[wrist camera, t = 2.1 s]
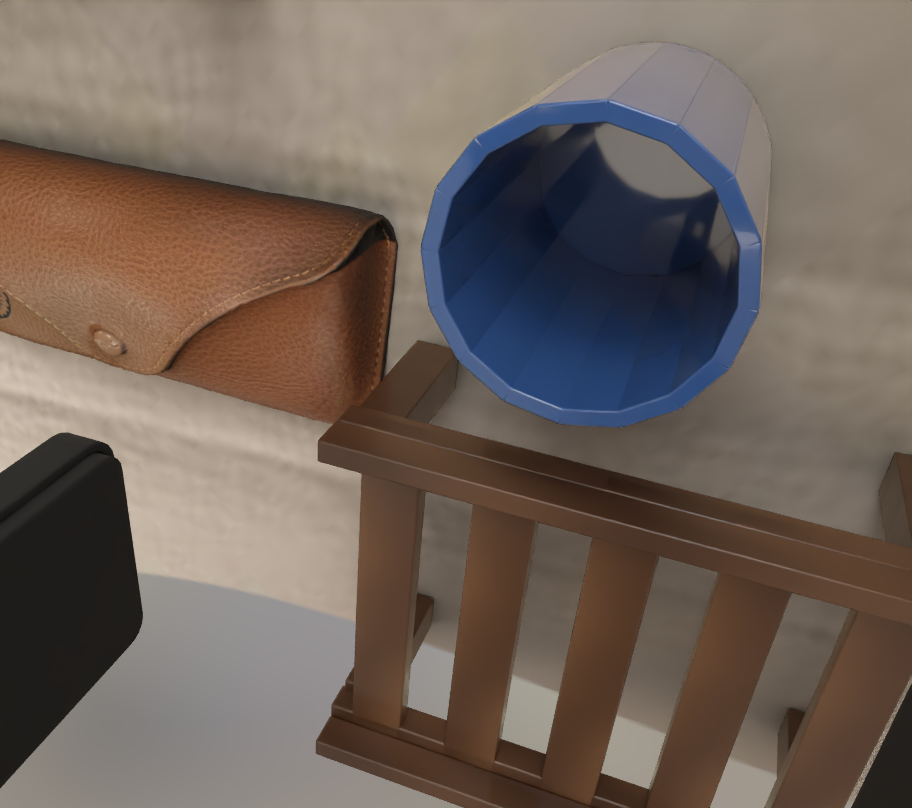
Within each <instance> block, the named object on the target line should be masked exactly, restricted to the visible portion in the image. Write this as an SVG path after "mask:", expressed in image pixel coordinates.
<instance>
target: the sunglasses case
mask: <svg viewBox="0 0 912 808" xmlns="http://www.w3.org/2000/svg"><path fill="white" fill-rule="evenodd" d="M397 248H398V245H397V241H396V237H395V233H394V229H393V227H392V225H391V224H390V222H389V221H388V220H387V219H386V218H385V217H384V216H383V215H380V214H376V213H373V212H371V211H367V210H362V209H358V208H354V207H350V206H344V205H339V204H333V203H328V202H323V201H318V200H313V199H307V198H301V197H294V196H288V195H283V194H275V193H268V192H263V191H258V190H254V189H250V188H245V187H240V186H234V185H229V184H224V183H219V182H214V181H209V180H204V179H199V178H193V177H187V176H181V175H176V174H171V173H166V172H160V171H154V170H149V169H145V168H140V167H135V166H130V165H123V164H117V163H112V162H107V161H102V160H98V159H93V158H88V157H84V156H79V155H74V154H69V153H64V152H58V151H53V150H47V149H42V148H37V147H33V146H28V145H24V144H19V143H14V142H9V141H5V140H0V331H3V332H5V333H8V334H10V335H14V336H17V337H20V338H23V339H26V340H29V341H33V342H35V343H39V344H42V345H47V346H51V347H53V348H58V349H61V350H64V351H67V352H73V353H76V354H80V355H83V356H86V357H90V358H94V359H96V360H98V361H101V362H104V363H106V364H109V365H112V366H115V367H119V368H122V369H124V370H128V371H132V372H135V373H139V374H144V375H158V376H161V377H165V378H168V379H172V380H176V381H179V382H183V383H186V384H190V385H194V386H197V387H201V388H204V389H206V390H209V391H214V392H218V393H221V394H224V395H228V396H231V397H235V398H238V399H242V400H244V401H249V402H252V403H256V404H259V405H263V406H267V407H271V408H273V409H278V410H282V411H286V412H289V413H292V414H295V415H299V416H303V417H307V418H309V419H312V420H319V421H322V422H326V423H329V424H334V423H335V422H336V421H338V419H339V418H340V416H341V415H342V414H343V413H344V412H345V411H346V410H347V409H348V408H349V407H350V405H357V406H360V405H361V403H362V402H363V401H364V400H365V399H366V398H367V397H368V396H369V394H370V393H371V392H372V391H373V390H374V389H375V388H376V387H377V385H378V384H379V383H380V382H381V381H382V380H383V374H384V367H385V360H386V350H387V340H388V333H389V324H390V315H391V306H392V299H393V291H394V277H395V269H396V258H397Z"/></svg>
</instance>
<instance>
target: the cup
mask: <svg viewBox="0 0 912 808" xmlns="http://www.w3.org/2000/svg"><path fill="white" fill-rule="evenodd" d="M771 150H772V144H771V139H770V137H769V133H768V129H767V126H766V122H765V119H764V116H763V114H762V111H761V109H760V107H759V105H758V103H757V101H756V99H755V98H754V96H753V95H752V93H751V92H750V90H749V89H748V87H747V86H746V85H745V84H744V83H743V82H742V80H741V79H740V78H739V77H738V76H737V75H736V74H735V73H734V72H733V71H731V70H730V69H729V68H728V67H727V66H725V65H724V64H723V63H721V62H720V61H718V60H716V59H715V58H713V57H711V56H710V55H708V54H706V53H703V52H701V51H699V50H696V49H694V48H691V47H687V46H683V45H679V44H674V43H666V42H641V43H635V44H629V45H625V46H621V47H615V48H612V49H610V50H608V51H607V52H605V53H603V54H601V55H598V56H596V57H594V58H593V59H591V60H590V61H588V62H586V63H584V64H583V65H581V66H579V67H577V68H575V69H573V70H572V71H570V72H569V73H567V74H566V75H564V76H563V77H561V78H560V79H558V80H557V81H555V82H554V83H553V84H551V85H550V86H548V87H547V88H545V89H544V90H542V91H541V92H539V93H538V94H537V95H535V96H534V97H532V98H531V99H529V100H528V101H526V102H525V103H523V104H522V105H521V106H519V107H518V108H516V109H515V110H513V111H512V112H510V113H509V114H507V115H506V116H505V117H503V118H502V119H500V120H499V121H497V122H496V123H494V124H493V125H491V126H490V127H489V128H487V129H486V130H484V131H483V132H481V133H480V134H478V135H477V136H476V137H475V138H474V139H473V140H472V141H471V142H470V144H469V145H468V146H467V148H466V149H465V150H464V151H463V153H462V154H461V155H460V157H459V158H458V159H457V160H456V162H455V163H454V164H453V166H452V167H451V168H450V170H449V171H448V172H447V173H446V175H445V176H444V177H443V179H442V180H441V181H440V182H439V184H438V185H437V188H436V189H435V192H434V196H433V200H432V204H431V208H430V211H429V215H428V219H427V223H426V227H425V231H424V235H423V239H422V243H421V256H422V263H423V270H424V277H425V284H426V291H427V298H428V305H429V308H430V311H431V313H432V315H433V317H434V318H435V320H436V322H437V324H438V326H439V328H440V329H441V331H442V333H443V335H444V337H445V338H446V340H447V342H448V344H449V346H450V347H451V349H452V351H453V353H454V355H455V356H456V358H457V360H459V362H460V363H461V364H462V365H463V366H464V367H465V368H466V369H468V370H469V371H470V372H471V373H472V374H473V375H474V376H475V377H477V378H478V379H479V380H480V381H481V382H482V383H483V384H484V385H486V386H487V387H488V388H489V389H490V390H491V391H492V392H494V393H495V394H496V395H497V396H498V397H499V398H500V399H501V400H504V401H505V402H507V403H509V404H511V405H514V406H516V407H519V408H521V409H524V410H526V411H528V412H531V413H533V414H536V415H538V416H541V417H543V418H545V419H548V420H550V421H553V422H555V423H557V424H559V423H560V424H562V425H580V426H599V427H617V428H619V427H625V426H628V425H631V424H635V423H638V422H641V421H644V420H647V419H651V418H654V417H657V416H660V415H663V414H667V413H670V412H673V411H676V410H679V409H680V408H683V407H684V406H685V405H686V404H688V403H689V402H690V401H691V400H693V399H694V398H695V397H696V396H697V395H699V394H700V393H701V392H702V391H704V390H705V389H706V388H707V387H708V386H710V385H711V384H712V383H713V382H715V381H716V380H717V379H718V378H719V377H721V376H722V375H723V374H724V373H726V372H727V371H728V370H729V368H730V367H731V366H732V364H733V362H734V360H735V358H736V356H737V354H738V352H739V350H740V348H741V346H742V345H743V343H744V341H745V339H746V337H747V335H748V333H749V331H750V329H751V327H752V325H753V323H754V321H755V319H756V317H757V315H758V313H759V309H760V301H761V290H762V278H763V266H764V254H765V242H766V230H767V218H768V206H769V194H770V174H771Z"/></svg>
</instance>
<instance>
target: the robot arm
mask: <svg viewBox="0 0 912 808" xmlns="http://www.w3.org/2000/svg"><path fill="white" fill-rule="evenodd" d="M142 620H143V611H142V605H141V597H140V590H139V584H138V576H137V569H136V562H135V555H134V548H133V541H132V534H131V527H130V520H129V513H128V506H127V499H126V492H125V485H124V478H123V471H122V466H121V463H120V462H119V460H118V459H117V458H114V455H113V451H112V449H111V448H110V447H109V445H108V444H105V443H103V442H100V441H96V440H93V439H89V438H85V437H82V436H78V435H74V434H71V433H59V434H57V435H55V436H53V437H51V438H50V439H48V440H47V441H45V442H44V443H42V444H41V445H40V446H38V447H37V448H35V449H34V450H32V451H31V452H30V453H28V454H27V455H25V456H24V457H22V458H21V459H20V460H18V461H17V462H15V463H14V464H12V465H11V466H10V467H8V468H7V469H5V470H4V471H2V472H1V473H0V788H1V787H2V786H3V785H4V784H5V783H6V781H7V780H8V779H9V778H10V777H11V776H12V775H13V774H14V773H15V771H16V770H17V769H18V768H19V767H20V766H21V765H22V764H23V763H24V761H25V760H26V759H27V758H28V757H29V756H30V755H31V754H32V753H33V751H35V749H36V748H37V747H38V746H39V745H40V744H41V743H42V742H43V741H44V740H45V738H46V737H47V736H48V735H49V734H50V733H51V732H52V731H53V730H54V729H55V727H56V726H57V725H58V724H59V723H60V722H61V721H62V720H63V719H64V718H65V716H66V715H67V714H68V713H69V712H70V711H71V710H72V709H73V708H74V707H75V705H76V704H77V703H78V702H79V701H80V700H81V699H82V698H83V697H84V696H85V694H86V693H87V692H88V691H89V690H90V689H91V688H92V687H93V686H94V684H95V683H96V682H97V681H98V680H99V679H100V678H101V677H102V676H103V675H104V674H105V672H106V671H107V670H108V669H109V668H110V667H111V666H112V665H113V664H114V662H115V661H116V660H117V659H118V658H119V657H120V656H121V655H122V654H123V653H124V651H125V650H126V649H127V648H128V647H129V646H130V645H131V644H132V642H133V641H134V640H135V638H136V636H137V635H138V633H139V630H140V628H141V624H142ZM851 808H912V684H911V686H910V688H909V690H908V692H907V694H906V696H905V698H904V700H903V702H902V704H901V706H900V708H899V710H898V712H897V715H896V717H895V719H894V721H893V723H892V725H891V727H890V729H889V731H888V733H887V735H886V737H885V739H884V741H883V743H882V745H881V748H880V750H879V752H878V754H877V756H876V758H875V760H874V762H873V764H872V766H871V768H870V770H869V772H868V774H867V776H866V778H865V781H864V783H863V785H862V787H861V789H860V791H859V793H858V795H857V797H856V799H855V801H854V803H853V805H852V807H851Z"/></svg>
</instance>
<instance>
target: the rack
mask: <svg viewBox="0 0 912 808" xmlns="http://www.w3.org/2000/svg"><path fill="white" fill-rule="evenodd" d="M457 362H458V360H457V358H456V356H455V355H454V353H453V351H452V349H451V348H448V347H444V346H440V345H436V344H431V343H427V342H423V341H417V342H416V343H415V344H414V345H413V346H412V347H411V348H410V350H409V351H408V352H407V353H406V354H405V355H404V356H403V357H402V359H401V360H400V361H399V362H398V363H397V364H396V365H395V366H394V368H393V369H392V370H391V371H390V372H389V373H388V374H387V375H386V377H385V378H384V379H383V380H382V381H381V382H380V383H379V384H378V385H377V387H376V388H375V389H374V390H373V391H372V392H371V393H370V394H369V396H368V397H367V398H366V399H365V400H364V401H363V402H362V403H361V405H360V406H357V405H350V407H349V408H348V409H347V410H346V411H345V412H344V413H343V414H342V415H341V416H340V418H339V419H338V421H336V422H335V423H334V424H333V425H332V426H331V427H330V428H329V429H328V430H327V431H326V433H325V434H324V435H323V436H322V437H321V438H320V439H319V440H318V461H319V462H322V463H326V464H330V465H333V466H337V467H340V468H344V469H348V470H351V471H355V472H359V473H362V480H361V506H360V532H359V558H358V584H357V610H356V636H355V663H354V667H353V669H352V671H351V672H350V674H349V676H348V677H347V679H346V684H345V686H343V687H342V688H341V690H340V692H339V693H338V695H337V697H336V699H335V700H334V702H333V703H332V713H331V715H332V716H331V717H330V718H329V719H328V721H327V723H326V725H325V726H324V728H323V730H322V732H321V733H320V735H319V737H318V738H317V740H316V754H318V755H321V756H324V757H326V758H329V759H332V760H334V761H337V762H340V763H343V764H346V765H348V766H351V767H354V768H356V769H359V770H362V771H365V772H367V773H370V774H373V775H376V776H378V777H381V778H384V779H387V780H390V781H392V782H395V783H398V784H400V785H403V786H406V787H409V788H411V789H414V790H417V791H420V792H423V793H425V794H428V795H431V796H434V797H436V798H439V799H442V800H444V801H447V802H450V803H453V804H455V805H458V806H461V807H464V808H710V805H711V803H712V800H713V797H714V795H715V792H716V790H717V787H718V784H719V782H720V779H721V777H722V774H723V771H724V769H725V766H726V763H727V761H728V758H729V756H730V753H731V750H732V748H733V745H734V743H735V740H736V737H737V735H738V732H739V729H740V727H741V724H742V722H743V719H744V716H745V714H746V711H747V708H748V706H749V703H750V701H751V698H752V695H753V693H754V690H755V688H756V685H757V682H758V680H759V677H760V674H761V672H762V669H763V667H764V664H765V661H766V659H767V656H768V653H769V651H770V648H771V646H772V643H773V640H774V638H775V635H776V633H777V630H778V627H779V625H780V622H781V619H782V617H783V614H784V612H785V609H786V606H787V604H788V601H789V599H790V596H791V593H795V594H799V595H803V596H806V597H810V598H813V599H817V600H821V601H824V602H828V603H832V604H835V605H839V606H842V607H846V608H850V611H849V614H848V616H847V618H846V621H845V623H844V625H843V628H842V630H841V632H840V635H839V637H838V639H837V641H836V644H835V646H834V648H833V651H832V653H831V655H830V658H829V660H828V662H827V664H826V667H825V669H824V671H823V674H822V676H821V678H820V681H819V683H818V685H817V688H816V690H815V692H814V694H813V697H812V699H811V701H810V704H809V706H808V708H807V711H806V713H804V712H800V711H797V710H794V709H788V711H787V713H786V716H785V718H784V721H783V723H782V725H781V728H780V730H779V733H778V750H777V780H776V782H775V784H774V787H773V789H772V791H771V793H770V796H769V798H768V801H767V803H766V805H765V807H764V808H844V806H845V805H846V803H847V801H848V799H849V797H850V795H851V793H852V791H853V789H854V787H855V785H856V783H857V781H858V779H859V777H860V775H861V773H862V771H863V770H864V768H865V766H866V764H867V762H868V760H869V758H870V756H871V754H872V752H873V750H874V748H875V746H876V744H877V742H878V740H879V738H880V736H881V734H882V732H883V730H884V728H885V726H886V724H887V722H888V720H889V719H890V717H891V715H892V713H893V711H894V709H895V707H896V705H897V703H898V701H899V699H900V697H901V695H902V693H903V691H904V689H905V687H906V685H907V683H908V681H909V679H910V677H911V675H912V456H910V455H906V454H901V453H897V452H896V453H895V454H894V456H893V459H892V461H891V463H890V466H889V468H888V471H887V473H886V475H885V478H884V480H883V483H882V485H881V487H880V490H879V496H880V502H881V509H882V516H883V522H884V529H885V536H886V542H885V541H881V540H877V539H873V538H869V537H866V536H862V535H858V534H854V533H850V532H846V531H842V530H838V529H835V528H831V527H827V526H823V525H819V524H815V523H811V522H807V521H803V520H800V519H796V518H792V517H788V516H784V515H780V514H776V513H772V512H768V511H765V510H761V509H757V508H753V507H749V506H745V505H741V504H737V503H734V502H730V501H726V500H722V499H718V498H714V497H710V496H706V495H702V494H699V493H695V492H691V491H687V490H683V489H679V488H675V487H671V486H668V485H664V484H660V483H656V482H652V481H648V480H644V479H640V478H636V477H633V476H629V475H625V474H621V473H617V472H613V471H609V470H605V469H601V468H598V467H594V466H590V465H586V464H582V463H578V462H574V461H570V460H567V459H563V458H559V457H555V456H551V455H547V454H543V453H539V452H535V451H532V450H528V449H524V448H520V447H516V446H512V445H508V444H504V443H500V442H497V441H493V440H489V439H485V438H481V437H477V436H473V435H469V434H466V433H462V432H458V431H454V430H450V429H446V428H442V427H438V426H434V425H431V424H429V423H430V422H431V420H432V419H433V417H434V416H435V415H436V413H437V412H438V410H439V409H440V408H441V406H442V405H443V404H444V402H445V401H446V399H447V398H448V397H449V395H450V394H451V392H452V391H453V390H454V388H455V383H456V372H457ZM426 491H427V492H431V493H434V494H438V495H442V496H445V497H449V498H452V499H456V500H460V501H463V502H467V503H470V504H473V511H472V519H471V527H470V535H469V544H468V552H467V560H466V568H465V576H464V585H463V593H462V601H461V609H460V617H459V626H458V634H457V642H456V650H455V658H454V667H453V675H452V683H451V691H450V700H449V708H448V716H447V720H444V719H441V718H438V717H435V716H432V715H429V714H426V713H423V712H420V711H417V710H414V709H412V708H409V707H407V703H408V690H409V679H410V668H411V667H410V666H411V663H412V662H413V659H414V658H415V656H416V654H417V652H418V650H419V647H420V646H421V644H422V642H423V640H424V638H425V636H426V634H427V632H428V630H429V628H430V626H431V622H432V612H433V602H434V600H433V598H430V597H427V596H423V595H420V594H417V586H418V575H419V563H420V551H421V540H422V528H423V516H424V505H425V493H426ZM538 522H539V523H543V524H546V525H550V526H554V527H557V528H561V529H564V530H568V531H572V532H575V533H579V534H582V535H586V536H590V537H593V538H592V543H591V548H590V552H589V557H588V561H587V566H586V571H585V575H584V580H583V585H582V589H581V594H580V599H579V603H578V608H577V613H576V617H575V622H574V626H573V631H572V636H571V640H570V645H569V650H568V654H567V659H566V664H565V668H564V673H563V678H562V682H561V687H560V692H559V696H558V701H557V705H556V710H555V715H554V720H553V724H552V729H551V734H550V738H549V743H548V747H547V752H546V754H543V753H540V752H538V751H535V750H531V749H529V748H526V747H523V746H520V745H517V744H514V743H511V742H508V741H505V740H502V739H501V737H502V731H503V725H504V719H505V713H506V708H507V702H508V696H509V690H510V684H511V679H512V673H513V667H514V661H515V655H516V650H517V644H518V638H519V632H520V626H521V621H522V615H523V609H524V603H525V597H526V592H527V586H528V580H529V574H530V568H531V563H532V557H533V551H534V545H535V539H536V533H537V528H538ZM659 556H662V557H665V558H669V559H673V560H676V561H680V562H683V563H687V564H691V565H694V566H698V567H702V568H705V569H709V570H712V571H716V572H718V573H717V576H716V579H715V582H714V585H713V589H712V592H711V595H710V598H709V601H708V604H707V607H706V611H705V614H704V617H703V620H702V623H701V626H700V629H699V633H698V636H697V639H696V642H695V645H694V648H693V651H692V655H691V658H690V661H689V664H688V667H687V670H686V673H685V677H684V680H683V683H682V686H681V689H680V692H679V695H678V699H677V702H676V705H675V708H674V711H673V714H672V717H671V721H670V724H669V727H668V730H667V733H666V736H665V739H664V743H663V746H662V749H661V752H660V755H659V758H658V761H657V765H656V768H655V771H654V774H653V777H652V781H651V783H650V787H649V789H646V788H643V787H640V786H637V785H635V784H631V783H628V782H625V781H623V780H620V779H617V778H614V777H611V776H608V775H605V774H602V773H601V770H602V766H603V762H604V759H605V755H606V751H607V748H608V744H609V740H610V736H611V733H612V729H613V725H614V721H615V718H616V714H617V711H618V707H619V703H620V699H621V696H622V692H623V688H624V685H625V681H626V677H627V673H628V670H629V666H630V662H631V659H632V655H633V651H634V647H635V644H636V640H637V636H638V633H639V629H640V625H641V621H642V618H643V614H644V610H645V607H646V603H647V599H648V595H649V592H650V588H651V584H652V581H653V577H654V573H655V569H656V566H657V562H658V558H659Z"/></svg>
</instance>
